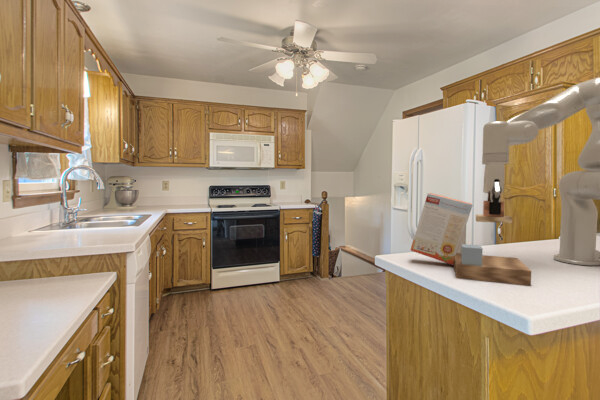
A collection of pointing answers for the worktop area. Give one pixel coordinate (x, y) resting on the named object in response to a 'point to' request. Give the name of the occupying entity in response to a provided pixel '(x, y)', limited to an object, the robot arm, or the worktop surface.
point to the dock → (494, 270)
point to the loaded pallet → (495, 219)
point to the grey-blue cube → (471, 254)
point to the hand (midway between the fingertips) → (493, 213)
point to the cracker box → (441, 227)
